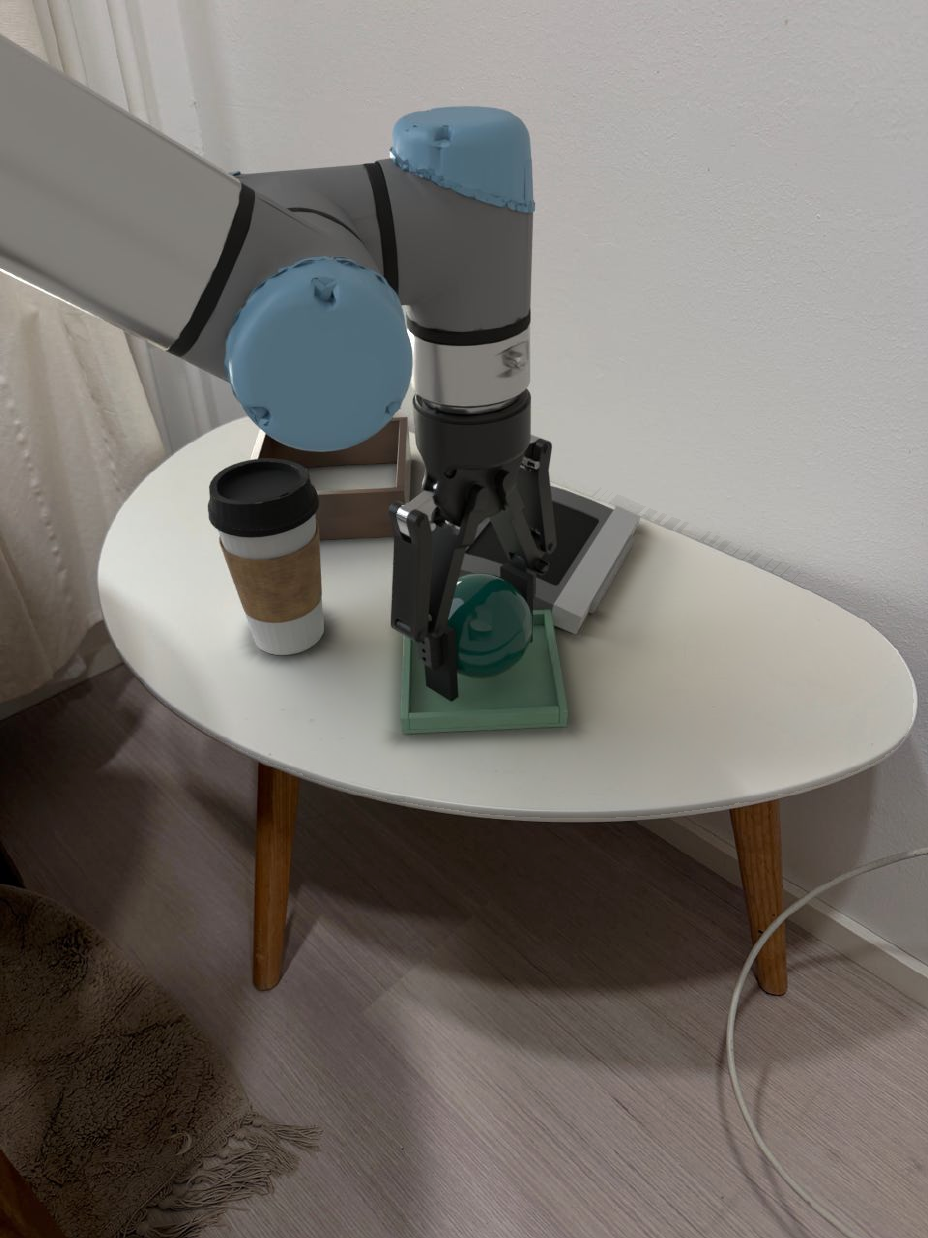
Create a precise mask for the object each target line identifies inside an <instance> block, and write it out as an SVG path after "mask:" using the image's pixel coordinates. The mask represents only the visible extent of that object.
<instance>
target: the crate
mask: <svg viewBox="0 0 928 1238" xmlns="http://www.w3.org/2000/svg"><path fill="white" fill-rule="evenodd" d="M409 428H410V427H409V418H408V416H399V417H397V416H396V417H393V418H392V419H391V420H390V421H389V422H388V423H387V425H386V426H385V427H383V428H382V429H381V430H380V431H379V432H378V433H376V434H375V435H373V436H372V437H370V438H369V439H367V440H365V441H363V442H361V443H359V444H357V445H354V446H351V447H349V448H346V449H340V450H335V451H325V452H319V451H306V450H299V449H296V448H293V447H289V446H287V445H285V444H282V443H280V442H278V441H276V440H275V439H273V438H271V437H270V436H268V435H267V434H266V433H265V432H263V431H262V430H261V429H260V428H259V432H258V435H257V437H256V440H255V444H254V447H253V450H252V453H251V456H250V459H249V460H253V459H262V458H273V459H283V460H288V461H291V462H295V463H297V464H299V465H301V466H303V467H304V468H308V467H309V468H311V467H327V466H328V467H329V466H351V465H353V466H354V465H372V464H373V465H374V464H375V465H376V464H395V463H397V464H396V480H395V481H396V482H395V487H375V488H353V489H352V488H351V489H332V490H316V491H317V495H318V497H319V508H318V509H317V511H316V513H315V517H316V520H317V522H318V526H319V540H320V541H325V540H345V539H346V540H347V539H365V538H366V539H368V538H369V539H370V538H388V537H389V538H390V537H391V538H392V537H394V532H393V528H392V525H391V521H390V518H389V513H388V511H389V507H390V505H391V504H392V503H393V502H395V501H400V502H402V503H404V504H408V503H409V502H410V496H411V494H410V493H411V472H412V470H411V469H412V468H411V466H412V454H411V452H412V451H411V442H410V441H411V440H410V429H409Z"/></svg>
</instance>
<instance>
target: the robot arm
mask: <svg viewBox="0 0 928 1238" xmlns="http://www.w3.org/2000/svg"><path fill="white" fill-rule="evenodd" d="M388 150H389V158H384V159H378V160H377V159H376V160H375V161H374V162H368V163H362V164H350V165H349V164H348V165H337V166H325V167H315V168H314V167H313V168H312V167H311V168H302V169H301V168H300V169H289V170H277V171H266V172H265V171H264V172H254V173H253V172H252V173H242V172H241V171H239V170H238V171H232V172H231V171H229V172H228V171H226V170H224V169H223V168H221V167H219V166H218V165H216V164H214V163H213V162H211V161H209V160H208V159H206V158H204V157H203V156H201V155H199V154H198V153H196V152H194V151H193V150H191V149H190V148H189V147H187V146H185V145H183V144H181V143H180V142H178V141H177V140H175V139H174V138H172V137H170V136H169V135H167V134H166V133H164V132H162V131H160V130H159V129H157V128H156V127H154V126H152V125H150V124H149V123H147V122H146V121H145V120H142V119H141V118H139V117H137V116H136V115H134V114H133V113H131V112H129V111H128V110H126V109H124V108H123V107H121V106H119V105H118V104H116V103H114V102H113V101H111V100H110V99H108V98H107V97H105V96H103V95H102V94H99V93H98V92H97V91H95V90H93V89H92V88H90V87H88V86H86V85H85V84H84V83H82V82H80V81H79V80H77V79H75V78H74V77H72V76H71V75H68V74H67V73H65V72H64V71H62V70H60V69H59V68H57V67H56V66H54V65H53V64H51V63H49V62H48V61H45V60H44V59H43V58H41V57H39V56H38V55H36V54H35V53H32V52H31V51H30V50H27V49H26V48H24V47H23V46H21V45H20V44H18V43H17V42H15V41H13V40H12V39H10V38H8V37H7V36H5V35H3V34H2V33H0V272H2V273H4V274H6V275H9V276H11V277H12V278H14V279H17V280H19V281H21V282H23V283H24V284H27V285H29V286H31V287H33V288H35V289H37V290H39V291H42V292H44V293H45V294H48V295H50V296H52V297H53V298H56V299H58V300H59V301H61V302H64V303H66V304H68V305H70V306H72V307H74V308H76V309H79V310H80V311H82V312H85V313H87V314H89V315H91V316H93V317H95V318H97V319H99V320H101V321H102V322H105V323H107V324H109V325H111V326H113V327H115V328H117V329H119V330H121V331H123V332H125V333H127V334H129V335H131V336H134V337H136V338H138V339H139V340H142V341H143V342H146V343H148V344H150V345H152V346H154V347H157V348H158V349H161V350H162V351H164V352H167V353H169V354H171V355H173V356H175V357H177V358H179V359H181V360H182V361H185V362H187V363H189V364H190V365H192V366H194V367H197V368H198V369H200V370H202V371H204V372H206V373H208V374H210V375H212V376H214V377H216V378H218V379H220V380H222V381H224V382H226V383H228V384H230V387H231V391H232V394H233V396H234V398H235V399H236V401H237V403H239V405H240V406H241V407H242V409H243V411H244V413H245V414H246V416H247V417H248V418H249V419H250V420H251V421H252V423H254V424H255V425H256V426H257V427H258V428H259V430H260V429H261V430H262V431H263V432H265V433H266V434H267V435H268V436H270V437H271V438H273V439H275V440H276V441H278V442H280V443H282V444H285V445H287V446H289V447H293V448H296V449H299V450H306V451H319V452H325V451H335V450H340V449H346V448H349V447H351V446H354V445H357V444H359V443H361V442H363V441H365V440H367V439H369V438H370V437H372V436H373V435H375V434H376V433H378V432H379V431H380V430H381V429H382V428H383V427H385V426H386V425H387V423H388V422H389V421H390V420H391V419H392V418H394V416H395V414H396V413H397V412H398V411H399V410H401V409H402V405H403V402H404V400H405V398H406V396H407V393H408V391H409V388H411V390H413V392H414V394H413V397H412V415H413V429H414V439H415V440H414V441H415V445H416V449H417V451H418V452H419V454H420V457H421V459H422V461H423V464H424V475H423V479H422V481H421V487H420V493H419V494H418V495H416V496H415V497H414V498H413V499H411V500H409V503H408V504H404V503H402V502H400V501H395V502H393V503H392V504H391V505H390V507H389V511H388V513H389V518H390V521H391V525H392V528H393V532H394V536H393V555H392V556H393V557H392V577H391V578H392V581H391V582H392V583H391V602H390V603H391V604H390V605H391V606H390V627H391V629H393V630H394V631H396V632H398V633H399V634H401V635H403V636H404V635H405V636H406V637H408V638H410V639H411V640H413V641H415V642H416V643H417V648H418V649H417V652H418V659H419V661H420V663H422V664H424V666H425V678H426V686H427V687H429V688H430V689H432V690H433V691H435V692H436V693H438V694H440V695H441V696H443V697H444V698H446V699H448V700H449V701H451V702H452V701H454V700H455V699H456V698H458V697H459V695H458V677H457V659H456V641H455V629H453V628H451V627H450V626H448V625H447V622H448V618H449V614H450V610H451V606H452V602H453V598H454V594H455V590H456V586H457V582H458V578H459V574H460V571H461V567H462V563H463V559H464V555H465V551H466V548H467V547H468V546H471V545H472V544H473V543H474V540H475V536H476V532H477V528H478V525H479V524H480V523H482V522H483V521H484V520H485V519H486V518H488V517H489V518H490V520H491V523H492V525H493V527H494V529H495V531H496V534H497V536H498V538H499V540H500V542H501V545H502V547H503V549H504V551H505V553H506V555H507V558H508V559H509V560H511V561H512V565H511V564H509V563H507V562H506V563H505V564H503V565H502V566H500V577H501V578H503V579H505V580H507V581H509V582H510V583H511V584H513V585H514V586H515V587H516V588H517V589H518V590H519V591H520V592H521V593H522V594H523V596H524V598H525V600H526V602H527V604H528V606H529V608H530V611H531V614H532V622H533V600H534V598H535V595H536V573H537V574H539V575H544V574H545V573H546V572H547V570H548V568H549V562H547V561H545V560H543V559H541V557H542V556H543V555H544V554H545V553H547V554H551V553H552V552H553V551H554V550H555V548H556V534H555V524H554V515H553V505H552V496H551V487H550V486H551V478H550V464H551V458H552V450H553V444H552V442H551V441H550V440H547V439H544V438H541V437H539V436H537V435H534V434H532V395H531V392H530V390H529V389H528V387H529V385H530V383H531V322H532V321H531V319H532V313H531V312H532V311H531V310H532V308H531V303H532V301H531V299H532V298H531V297H532V270H533V269H532V268H533V267H532V266H533V237H534V235H533V234H534V233H533V232H534V230H533V229H534V213H535V211H536V202H535V199H534V180H533V160H532V147H531V137H530V131H529V130H528V128H527V126H526V124H525V122H524V121H523V120H522V119H521V118H520V117H519V116H517V115H515V114H514V113H512V112H511V111H509V110H505V109H502V108H496V107H491V106H490V107H489V106H476V105H475V106H474V105H473V106H472V105H460V106H459V105H457V106H443V107H434V108H431V109H427V110H418V111H413V112H410V113H407V114H405V115H403V116H401V117H400V118H398V120H397V121H396V122H395V123H394V124H393V128H392V132H391V147H390V148H389V149H388ZM403 306H404V307H405V313H404V309H403ZM445 520H446V521H447V522H449V523H451V524H453V525H456V526H458V527H460V530H458V529H456V528H454V527H452V526H450V525H448V524H447V523H446V522H445ZM536 529H537V530H539V532H540V533H539V532H537V531H536ZM531 642H533V623H532V636H531V641H530V643H531Z"/></svg>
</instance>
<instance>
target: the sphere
mask: <svg viewBox="0 0 928 1238" xmlns="http://www.w3.org/2000/svg"><path fill="white" fill-rule="evenodd" d="M532 623H533V622H532V614H531V611H530V608H529V606H528V604H527V602H526V600H525V598H524V596H523V594H522V593H521V592H520V591H519V590H518V589H517V588H516V587H515V586H514V585H513V584H511V583H510V582H509V581H507V580H505V579H503V578H501V577H499V576H496V575H492V574H488V573H473V574H467V575H464V576H461V577H459V578H458V582H457V586H456V590H455V594H454V598H453V602H452V606H451V610H450V614H449V618H448V622H447V625H448V626H450V627H451V628H453V629H455V641H456V659H457V673H458V674H460V675H462V676H466V677H470V678H482V679H484V678H490V677H495V676H497V675H500V674H502V673H505V672H506V671H508V670H509V669H511V668H512V667H513V666H514V665H516V664H517V663H518V662H519V661H520V660H521V658H522V657H523V655H524V653H525V651H526V650H527V648H528V646H529V644H530V641H531V636H532Z"/></svg>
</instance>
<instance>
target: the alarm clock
mask: <svg viewBox="0 0 928 1238" xmlns="http://www.w3.org/2000/svg"><path fill="white" fill-rule="evenodd" d="M550 487H551V496H552V505H553V515H554V524H555V534H556V548H555V550H554V551H553V552H552V553H551V554H547V553H545V554H544V555H543V556H542V557H541V559H543V560H545V561H547V562H549V568H548V570H547V572H546V573H545V574H544V575H539V574H537V573H536V595H535V598H534V600H533V610H547V609H548V610H551V614H552V620H553V626H554V627H557V628H560V629H561V630H564V631H566V632H568V633H571V634H573V635H577V633H578V631H579V630H580V628H581V626H582V625H583V623H584V621H585V619H586V617H587V616H588V615H589V614H594V613H595V612H596V611H597V609H598V607H599V605H600V604H601V602H602V600H603V598H604V597H605V595H606V593H607V591H608V589H609V587H610V586H611V584H612V583H613V581H614V580H615V578H616V576H617V574H618V572H619V570H620V568H621V567H622V565H623V564H624V561H625V560H626V558H627V556H628V554H629V553H630V551H631V549H632V547H633V544H634V542H635V540H636V537H635V535H634V534H635V532H636V530H637V528H638V525H639V523H640V520H641V515H639V514H637V513H634V512H631V511H630V510H627V509H625V508H622V507H620V506H618V505H615V507H614V508H612V507H609V506H606V505H604V504H602V503H600V502H597V501H596V500H593V499H590V498H588V497H585V496H583V495H580V494H577V493H575V492H572V491H569V490H566V489H564V488H560V487H556V486H553V485H550ZM445 522H446V523H447V524H448V525H450V526H452V527H454V528H456V529H458V530H460V527H458V526H456V525H453V524H451V523H449V522H447V521H446V520H445ZM536 531H537V532H539V530H537V529H536ZM539 533H540V532H539ZM506 562H507V563H509V564H511V565H512V561H511V560H509V559H508V558H507V555H506V553H505V551H504V549H503V547H502V545H501V542H500V540H499V538H498V536H497V534H496V531H495V529H494V527H493V525H492V523H491V520H490V518H489V517H488V518H486V519H485V520H484V521H483V522H482V523H480V524H479V525H478V528H477V532H476V536H475V540H474V543H473V544H472V545H471V546H468V547H467V548H466V551H465V555H464V559H463V563H462V567H461V571H460V574H459V577H461V576H464V575H467V574H473V573H488V574H492V575H496V576H499V577H500V566H502V565H503V564H505V563H506Z"/></svg>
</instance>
